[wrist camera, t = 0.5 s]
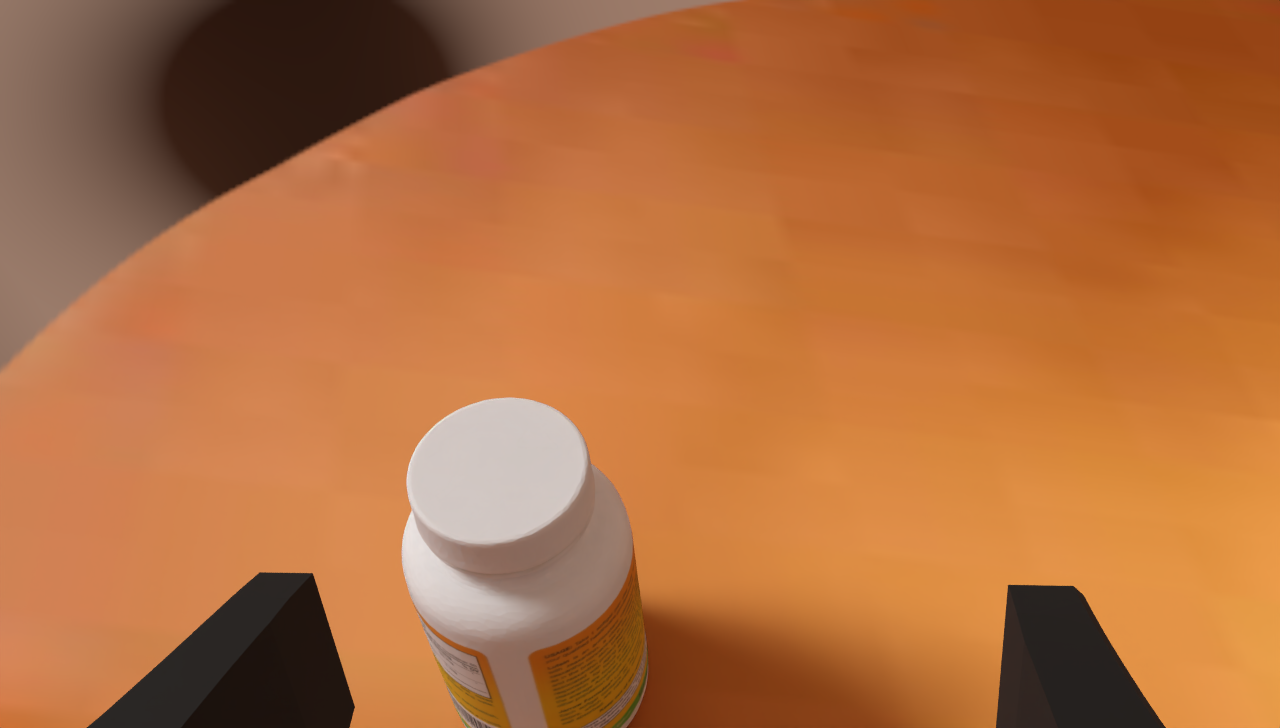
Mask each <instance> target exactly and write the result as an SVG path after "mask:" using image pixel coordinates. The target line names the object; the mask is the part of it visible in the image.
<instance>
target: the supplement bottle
mask: <svg viewBox="0 0 1280 728" xmlns="http://www.w3.org/2000/svg"><path fill="white" fill-rule="evenodd" d="M407 492H408V498H409V501H410V505H411V508H412V511H411V513H410V516H409V518H408V521H407V524H406V527H405V531H404V535H403V542H402V565H403V570H404V576H405V579H406V583H407V586H408V590H409V593H410V596H411V599H412V601H413V604H414V606H415V608H416V611H417V613H418V616H419V618H420V621H421V623H422V626H423V628H424V631H425V633H426V636H427V638H428V641H429V643H430V646H431V649H432V651H433V654H434V656H435V659H436V661H437V664H438V666H439V669H440V671H441V674H442V676H443V679H444V681H445V683H446V686H447V688H448V691H449V693H450V696H451V698H452V701H453V703H454V706H455V708H456V710H457V712H458V714H459V716H460V718H461V720H462V721H463V723H464V725H465V726H466V728H626V727H627V726H628V725H629V724H630V722H631V721H632V719H633V718H634V716H635V714H636V713H637V710H638V708H639V706H640V704H641V702H642V699H643V696H644V693H645V689H646V685H647V679H648V649H647V640H646V635H645V627H644V619H643V612H642V605H641V597H640V590H639V583H638V576H637V568H636V560H635V553H634V545H633V536H632V530H631V526H630V522H629V518H628V514H627V511H626V508H625V506H624V504H623V502H622V500H621V497H620V495H619V493H618V492H617V490H616V488H615V487H614V485H613V484H612V483H611V481H610V480H609V479H608V478H607V477H606V476H605V475H604V474H603V473H602V472H601V471H600V470H599V469H598V468H596V467H595V466H594V465H592V464H591V461H590V456H589V451H588V448H587V445H586V442H585V440H584V438H583V436H582V434H581V433H580V431H579V430H578V428H577V427H576V426H575V425H574V424H573V422H572V421H571V420H570V419H568V418H567V417H566V416H565V415H564V414H562V413H561V412H559V411H558V410H556V409H554V408H552V407H550V406H548V405H546V404H543V403H540V402H536V401H533V400H528V399H522V398H498V399H490V400H484V401H481V402H477V403H474V404H471V405H468V406H466V407H463V408H461V409H459V410H457V411H455V412H453V413H451V414H450V415H448V416H446V417H445V418H443V419H442V420H441V421H439V422H438V423H437V424H436V425H435V426H434V427H432V428H431V429H430V430H429V432H428V433H427V434H426V435H425V436H424V437H423V438H422V440H421V441H420V443H419V444H418V445H417V447H416V449H415V451H414V453H413V455H412V458H411V460H410V463H409V467H408V472H407Z"/></svg>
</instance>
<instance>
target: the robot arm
mask: <svg viewBox="0 0 1280 728" xmlns="http://www.w3.org/2000/svg"><path fill="white" fill-rule="evenodd" d="M354 708H355V706H354V703H353V700H352V697H351V693H350V690H349V687H348V684H347V681H346V678H345V674H344V671H343V668H342V665H341V662H340V658H339V655H338V652H337V649H336V646H335V643H334V639H333V636H332V633H331V630H330V627H329V623H328V620H327V617H326V614H325V611H324V608H323V604H322V601H321V598H320V595H319V592H318V588H317V585H316V582H315V579H314V576H313V573H259V574H258V575H256V576H255V577H254V578H253V579H252V580H251V581H249V582H248V583H247V584H246V585H245V586H244V587H242V588H241V589H240V590H239V591H238V592H237V593H236V594H235V595H233V596H232V597H231V598H230V599H229V600H228V601H227V602H226V603H225V604H224V605H223V606H221V607H220V608H219V609H218V610H217V611H216V612H215V613H214V614H213V615H212V616H211V617H209V618H208V619H207V620H206V621H205V622H204V623H203V624H202V625H201V626H200V627H199V628H198V629H196V630H195V631H194V632H193V633H192V634H191V635H190V636H189V637H188V638H187V639H186V640H185V641H183V642H182V643H181V644H180V645H179V646H178V647H177V648H176V649H175V650H174V651H173V652H172V653H170V654H169V655H168V656H167V657H166V658H165V659H164V660H163V661H162V662H161V663H159V664H158V665H157V666H156V667H155V668H154V669H153V670H152V671H151V672H149V673H148V674H147V675H146V676H145V677H144V678H143V679H142V680H141V681H139V682H138V683H137V684H136V685H135V686H134V687H133V688H132V689H131V690H129V691H128V692H127V693H126V694H125V695H124V696H123V697H122V698H121V699H119V700H118V701H117V702H116V703H115V704H114V705H113V706H112V707H111V708H109V709H108V710H107V711H106V712H105V713H104V714H103V715H101V716H100V717H99V718H98V719H97V720H95V721H94V722H93V723H92V724H91V725H89V726H88V727H87V728H349V727H350V723H351V719H352V716H353V712H354ZM996 728H1165V726H1164V725H1163V723H1162V722H1161V721H1160V719H1159V718H1158V716H1157V715H1156V713H1155V712H1154V710H1153V709H1152V707H1151V706H1150V704H1149V703H1148V701H1147V700H1146V698H1145V697H1144V695H1143V694H1142V692H1141V691H1140V689H1139V688H1138V686H1137V684H1136V683H1135V681H1134V680H1133V678H1132V677H1131V675H1130V674H1129V672H1128V671H1127V669H1126V667H1125V666H1124V664H1123V663H1122V661H1121V659H1120V658H1119V656H1118V655H1117V653H1116V651H1115V650H1114V648H1113V646H1112V645H1111V643H1110V641H1109V640H1108V638H1107V636H1106V635H1105V633H1104V631H1103V629H1102V628H1101V626H1100V624H1099V622H1098V621H1097V619H1096V617H1095V615H1094V614H1093V612H1092V610H1091V608H1090V606H1089V604H1088V603H1087V601H1086V599H1085V597H1084V595H1083V594H1082V593H1080V592H1079V591H1078V590H1077V589H1076V588H1075V587H1074V586H1038V585H1008V593H1007V605H1006V616H1005V628H1004V640H1003V652H1002V664H1001V675H1000V687H999V699H998V711H997V722H996Z"/></svg>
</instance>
